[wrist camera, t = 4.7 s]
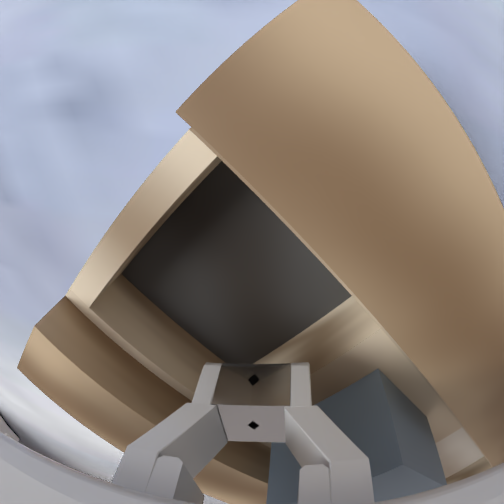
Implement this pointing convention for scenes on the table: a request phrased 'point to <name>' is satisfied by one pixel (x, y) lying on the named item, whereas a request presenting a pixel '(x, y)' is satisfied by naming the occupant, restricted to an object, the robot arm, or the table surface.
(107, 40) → the table surface
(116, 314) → the trap lane
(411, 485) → the slate block
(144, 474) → the robot arm
